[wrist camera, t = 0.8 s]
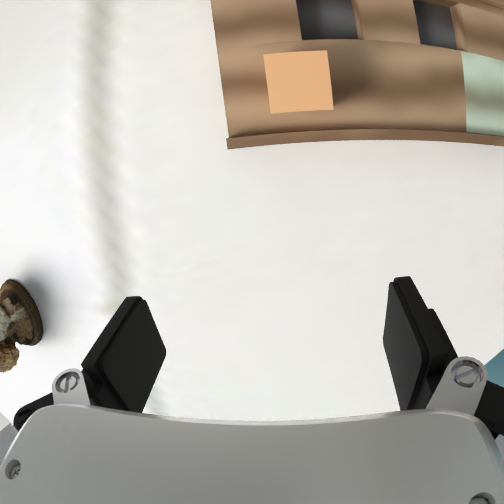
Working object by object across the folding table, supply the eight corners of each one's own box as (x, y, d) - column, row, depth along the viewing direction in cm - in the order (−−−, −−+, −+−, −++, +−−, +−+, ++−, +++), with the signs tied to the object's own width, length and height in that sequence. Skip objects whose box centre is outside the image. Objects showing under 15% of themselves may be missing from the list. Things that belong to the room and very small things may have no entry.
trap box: (214, -9, 24) (204, -23, 20) (495, 8, 19) (514, 3, 15) (235, 143, 32) (227, 149, 28) (508, 142, 27) (529, 149, 23)
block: (267, 62, 26) (263, 54, 21) (320, 58, 25) (326, 50, 20) (273, 112, 28) (270, 113, 23) (326, 108, 27) (333, 109, 23)
